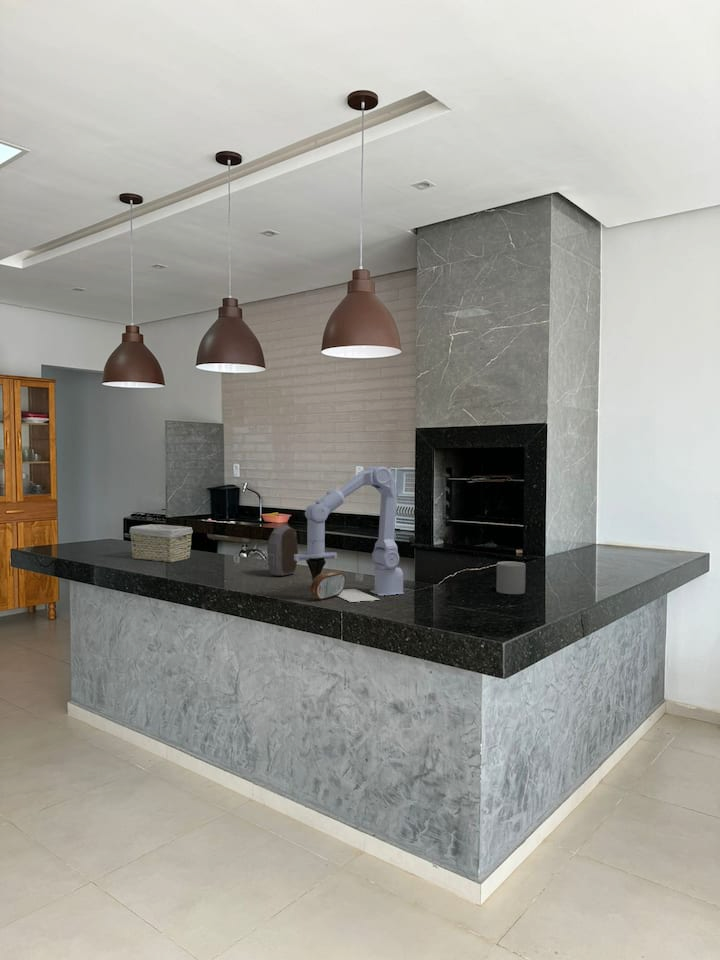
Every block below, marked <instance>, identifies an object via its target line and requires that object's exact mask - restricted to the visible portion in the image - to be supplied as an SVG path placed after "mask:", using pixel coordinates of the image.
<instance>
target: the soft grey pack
mask: <svg viewBox="0 0 720 960" xmlns="http://www.w3.org/2000/svg"><path fill="white" fill-rule="evenodd" d="M266 548H267V550H266V554H267V566H268V571H269V574H270V575H272V576H278V577H279V576H280V577H282V576H287V575H291V574H294V573H295V572H296V570H297V564H298V561H295V560H294V554H299V546H298V539H297V532H296V530H295V529H294V528H293V527H290V526H289V525H286V524H281V525H280V526H277V527H275V528H274V529H273V530H272V532H271V533H270V535H269V538H268V541H267V547H266Z"/></svg>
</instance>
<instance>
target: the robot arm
mask: <svg viewBox="0 0 720 960" xmlns="http://www.w3.org/2000/svg"><path fill="white" fill-rule="evenodd" d="M393 477H394V473H393V472H392V471H391V470H390V469H389V468H387V467H385V466H373V465H372V466H371V465H369V466H367V467H366V468H364V469H363V470H361V471H359V473H358V474H356V475H355V476H354V477H353V478H352V479H350V480H349V481H348V482H346V484H344V485H343V486H342V487H340V488H339V489H332V490H327V491H326V494H325V495H324V496H323V497H321V498H320V499H319V498H317V499H316V500H315V503H310V504H309V505H308V506H307V507H306V509H305V512H304V516H305V518H306V519H307V525H306V526H307V529H306V530H307V534H306V535H307V538H306V542H307V543H306V545H307V546H306V547H307V550H306V553H298V554H294V560H295V561H297V562H299V561H306V564H307V566H308V568H309V571H310V575H311V580H312V581H313V580H314V579H315V577H316V576H317V575H319V574H322V570H323V568H324V566H325V565H326V562H327V561H326V560H332V559H333V560H336V559H337V560H338V553H337V552H336V551H334V552H331V551H330V552H329V551H328V552H325V551H326V550H325V548H326V547H325V546H326V543H325V537H326V533H325V532H326V527H325V525H326V523H325V522H326V520H327V518H328V516H329V514H331V513H332V512H334V511H335V510H336V509H338V508H339V507H341V506H342V505H343V504H344V501H345V498H347V497H348V496H349V495H351V494H353V493H355V492H356V491H357V490H359V489H360V488H362V487H363V486H371V487H374V488H375V489H376V490H377V491H378V492H379V493H380V495H381V496H380V507H379V508H380V510H379V525H378V526H379V527H378V539H377V540H376V542H375V543H374V548H373V551H372V553H371V559H372V562H373V563H374V589H373V590H370V591H369V593H372V594H374V595H376V594H377V595H376V596H379V597H383V596H384V595H385V596H395V595H396V594H398V595H405V592H404V572H403V570H402V568H401V567H398V565H399V563H400V555H399V552H398V549H399V548H398V544H397V543H396V542H395V529H396V514H397V513H396V512H397V499H398V487H397V486H396V483H395V480H394V478H393Z"/></svg>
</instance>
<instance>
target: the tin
mask: <svg viewBox="0 0 720 960" xmlns="http://www.w3.org/2000/svg"><path fill="white" fill-rule="evenodd" d="M346 578H347V577H346V574H344V573H343V572H342V571H339V570H336V569H335V570H331V571H326V572H321V574H319V575H317V576H316V577H315V579H314V580H312V582H311V585H310V594H311V596H312V597H313V598H314V599H315V598H316V599H318V600H325V599H330V598H332V597H337V595H339V594H340V593H341V592H342V591H343V590H344V589H345V585H346V581H347V579H346Z"/></svg>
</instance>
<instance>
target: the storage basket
mask: <svg viewBox="0 0 720 960" xmlns="http://www.w3.org/2000/svg"><path fill="white" fill-rule="evenodd" d="M193 532H194V531H193V527H191V526H190V527H189V526H182V525H169V524H152V523H150V524H141V525H135V526H131V527H129V534H130V540H131V543H130V544H131V554H132V555H131V556H132V558H133V559H136V560H144V561H145V560H146V561H154V562H165V563H168V562H169V563H174V562H179V561H184V560H188V559H190V557H191V548H192V547H191V546H192V535H193Z"/></svg>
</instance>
